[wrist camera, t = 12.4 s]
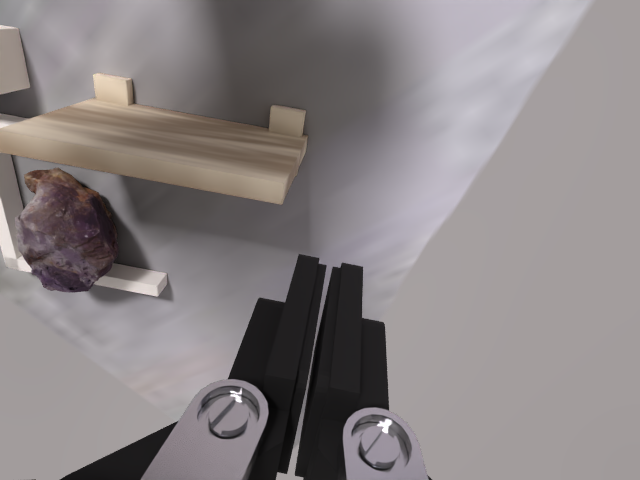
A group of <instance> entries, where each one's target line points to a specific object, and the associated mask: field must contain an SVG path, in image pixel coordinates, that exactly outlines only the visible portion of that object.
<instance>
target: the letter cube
mask: <svg viewBox="0 0 640 480" xmlns="http://www.w3.org/2000/svg"><path fill="white" fill-rule="evenodd" d="M26 88H30V83H29V78H28V73H27V68H26V63H25V58H24V53H23V48H22V43H21V38H20V33H19V28H14V27H8V26H2V25H0V95H1V94H5V93H9V92H13V91H18V90H22V89H26Z"/></svg>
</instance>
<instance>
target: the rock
mask: <svg viewBox="0 0 640 480" xmlns="http://www.w3.org/2000/svg"><path fill="white" fill-rule="evenodd" d="M24 178H25V184H26V185H27V187H28V188H29V189H30V191H31V192H34V193H35V196H34V198H33V199H32V200H31V201H30V203H29V204H28V205H27V206H26V207H25V209H24V210H23V211H22V212H21V213H20V214H19V215H18V216H17V217H15V226H16V229H17V231H18V233H17V234H16V238H17V241H18V251H19V252H20V253H21V254H22V256H23V258H24V259H25V261H26V262H27V264H28V265H29V266H30V267H31V269H32V270H31V272H32V274H33V275H37V277H38V278H39V279H40V281H41V282H42V285H43V287H44V288H46V289H48V290H51V291H52V290H58V291H62V292H81V291H89V289H90V288H91V287H92V286H93V284H94V283H95V282H96V281H98V280H99V278H101V277H103V276H104V275H105V274H107V273H108V272H109V271H110V270H111V268H112V265H113V262H114V260H115V259H116V258H117V256H118V253H119V246H118V243H117V241H116V239H117V236H118V235H117V232H116V227H115V225H114V223H113V221H112V220H111V219H110V218H111V217H112V215H111V212H109V211H108V210H107V209H106V206H105V204H104V203H103V201H102V199H101V197H100V195H99V193H98V192H96V191H94V190H91V189H88V188H86V187H85V188H83V187H82V186H81V184H80V183H79V182H78V181H77V180H76V179H75V178H74V177H73V176H72V175H70V174H69V173H66V172H64V171H62V170H61V169H59V168H54V169H52V170H35V171H32V172H29V173H27V174H25V175H24Z"/></svg>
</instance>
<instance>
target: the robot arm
mask: <svg viewBox="0 0 640 480" xmlns="http://www.w3.org/2000/svg"><path fill="white" fill-rule="evenodd" d="M318 263H319V258H316V257H311V256H306V255H301V254H299V256H298V260H297V263H296V267H295V270H294V274H293V277H292V281H291V284H290V288H289V291H288V295H287V299H286V302H285V303H284V302H279V301H274V300H269V299H264V298H259V299H258V301H257V303H256V306H255V309H254V311H253V314H252V317H251V319H250V322H249V324H248V327H247V330H246V332H245V335H244V338H243V340H242V343H241V346H240V348H239V351H238V354H237V356H236V359H235V361H234V364H233V367H232V369H231V372H230V375H229V377H228V379H227V380H220V381H217V382H214V383H211V384H209V385H208V386H206V387H204V388H203V389H201V390H200V391H199V392H198V394H197V395H196V396H195V397H194V398H193V399H192V401H191V403H190V404H189V406H188V407H187V409H186V410H185V412H184V413H183V415H182V416H181V418H180V420H179V421H177V422H175V423H173V424H171V425H169V426H167V427H165V428H163V429H161V430H159V431H157V432H155V433H153V434H150V435H148V436H146V437H144V438H142V439H140V440H138V441H136V442H134V443H132V444H130V445H128V446H126V447H124V448H122V449H120V450H118V451H116V452H114V453H112V454H110V455H108V456H105V457H103V458H101V459H99V460H97V461H95V462H93V463H91V464H89V465H87V466H85V467H83V468H81V469H79V470H77V471H75V472H73V473H71V474H69V475H67V476H65V477H63V478H62V479H60V480H276V475H277V472H280V473H284V474H287V471H288V467H289V462H290V458H291V454H292V449H293V445H294V440H295V435H296V431H297V426H298V422H299V417H300V413H301V408H302V404H303V399H304V395H305V390H306V385H307V380H308V375H309V369H310V363H311V357H312V351H313V345H314V339H315V332H316V326H317V320H318V314H319V308H320V302H321V296H322V290H323V284H324V278H325V272H326V265H323V264H318ZM362 288H363V267H361V266H356V265H351V264H346V263H342V265H341V268H338V267H333V268H332V273H331V277H330V282H329V286H328V291H327V295H326V300H325V304H324V309H323V313H322V318H321V322H320V327H319V331H318V336H317V340H316V345H315V351H314V356H313V363H312V369H311V375H310V381H309V388H308V394H307V400H306V407H305V413H304V419H303V425H302V432H301V438H300V444H299V451H298V457H297V463H296V470H295V476H300V477H304V479H303V480H432V479H431V478H430V477H429V476H428V475H427V471H426V468H425V464H424V460H423V456H422V453H421V449H420V445H419V442H418V440H417V437H416V435H415V433H414V431H413V430H412V429H411V427H410V426H409V425H408V424H407V423H406V422H405V421H404V420H403V419H402V418H400V417H399V416H398V415H396V414H394V413H392V412H390V411H389V401H388V379H387V361H386V360H387V359H386V338H385V324H384V323H383V322H379V321H374V320H369V319H364V318H362ZM34 480H36V479H34Z"/></svg>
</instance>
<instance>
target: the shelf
mask: <svg viewBox="0 0 640 480" xmlns="http://www.w3.org/2000/svg"><path fill="white" fill-rule="evenodd" d="M93 78H94V87H95V95H96V97H95V98H92V99H89V100H86V101H83V102H80V103H77V104H74V105H71V106H67V107H64V108H61V109H58V110H55V111H52V112H49V113H46V114H43V115H39V116H36V117H33V118H30V119H27V120H24V121H21V122H18V123H15V124H11V125H8V126H5V127H2V128H0V152H1V153H6V154H12V155H17V156H22V157H28V158H33V159H39V160H44V161H49V162H55V163H60V164H65V165H71V166H76V167H82V168H87V169H92V170H98V171H103V172H108V173H114V174H119V175H125V176H130V177H135V178H141V179H146V180H152V181H157V182H162V183H168V184H173V185H178V186H184V187H189V188H195V189H200V190H205V191H211V192H216V193H222V194H227V195H232V196H238V197H243V198H248V199H254V200H259V201H265V202H270V203H275V204H281V205H282V204H283V201H284V199H285V197H286V195H287V193H288V190H289V188H290V186H291V184H292V182H293V179H294V177H296V176H297V174H298V168H299V166H300V164H301V162H302V160H303V157H304V155H305V153H306V147H307V140H308V135H303V129H304V122H305V114H306V110H301V109H296V108H290V107H284V106H279V105H272V106H271V110H270V121H269V128H264V127H259V126H253V125H248V124H242V123H237V122H231V121H226V120H221V119H215V118H210V117H204V116H199V115H193V114H188V113H182V112H177V111H171V110H166V109H160V108H155V107H149V106H144V105H138V104H134V101H133V87H132V79H130V78H125V77H119V76H114V75H108V74H103V73H97V74H93Z"/></svg>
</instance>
